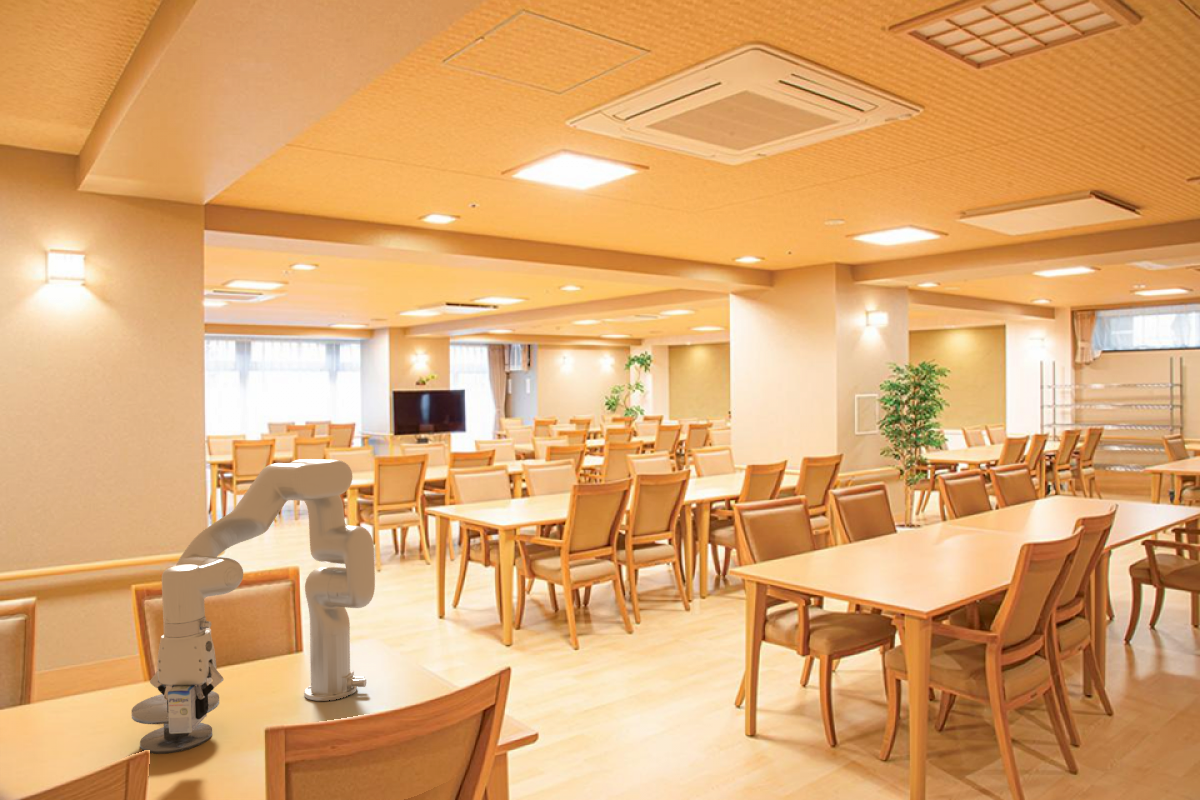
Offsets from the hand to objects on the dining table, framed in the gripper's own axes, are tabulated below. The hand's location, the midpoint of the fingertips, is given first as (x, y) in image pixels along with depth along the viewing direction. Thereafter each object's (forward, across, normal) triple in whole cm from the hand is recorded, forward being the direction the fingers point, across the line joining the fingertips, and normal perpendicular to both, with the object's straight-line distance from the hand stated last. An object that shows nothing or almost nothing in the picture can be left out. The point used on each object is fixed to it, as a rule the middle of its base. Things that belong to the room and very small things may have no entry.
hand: (188, 715), depth 165 cm
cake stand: (+11, +10, -12) cm, 19 cm away
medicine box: (+2, 0, 0) cm, 2 cm away
